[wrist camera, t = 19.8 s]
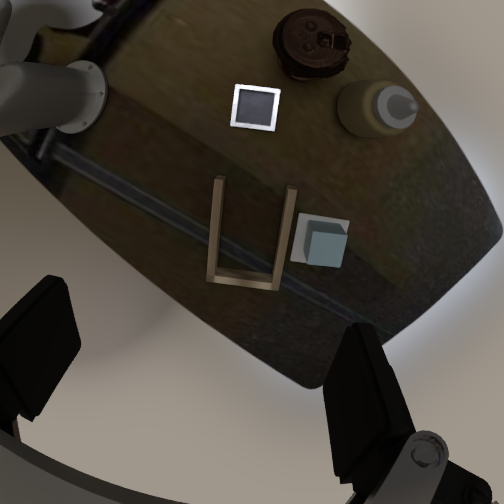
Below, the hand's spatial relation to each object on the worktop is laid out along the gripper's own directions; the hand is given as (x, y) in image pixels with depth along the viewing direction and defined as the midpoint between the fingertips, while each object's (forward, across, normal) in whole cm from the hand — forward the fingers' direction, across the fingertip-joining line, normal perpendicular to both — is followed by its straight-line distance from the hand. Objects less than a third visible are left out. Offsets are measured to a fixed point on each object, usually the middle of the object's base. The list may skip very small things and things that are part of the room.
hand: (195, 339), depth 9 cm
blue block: (+36, -12, +9) cm, 39 cm away
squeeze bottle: (+36, -14, -11) cm, 41 cm away
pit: (+36, 0, -8) cm, 37 cm away
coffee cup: (+36, -5, -16) cm, 40 cm away
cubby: (+36, -1, +10) cm, 38 cm away
